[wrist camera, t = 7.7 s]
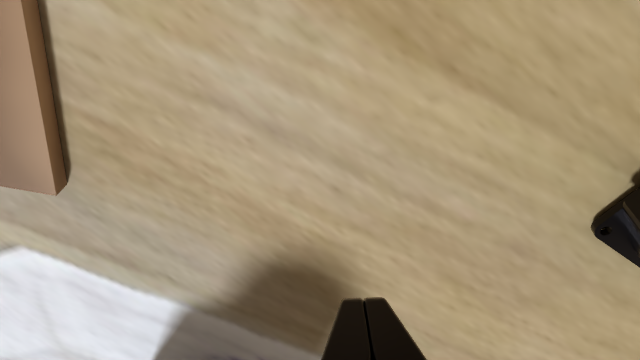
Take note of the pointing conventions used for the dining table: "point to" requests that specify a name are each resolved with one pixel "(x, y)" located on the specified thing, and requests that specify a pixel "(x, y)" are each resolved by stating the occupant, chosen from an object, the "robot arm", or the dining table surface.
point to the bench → (27, 104)
